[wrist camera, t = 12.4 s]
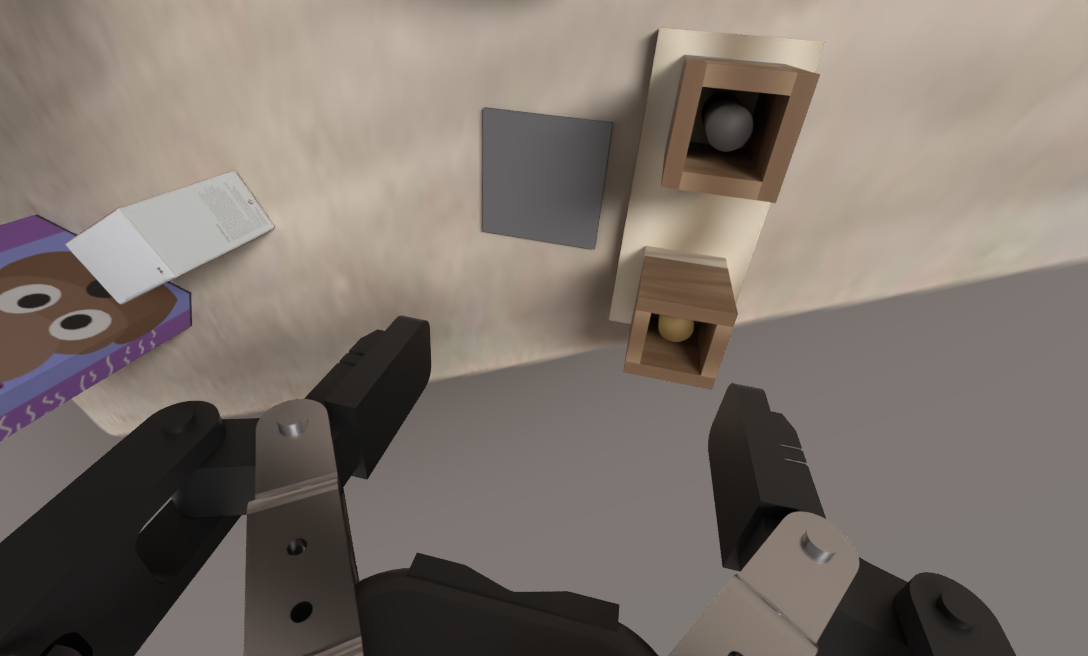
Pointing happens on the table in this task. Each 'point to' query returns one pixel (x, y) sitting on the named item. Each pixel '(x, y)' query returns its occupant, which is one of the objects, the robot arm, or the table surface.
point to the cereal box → (67, 323)
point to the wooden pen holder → (768, 145)
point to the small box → (169, 235)
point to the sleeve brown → (683, 293)
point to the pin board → (718, 122)
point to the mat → (544, 176)
